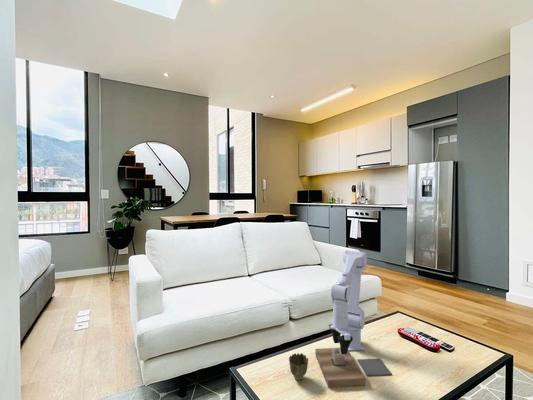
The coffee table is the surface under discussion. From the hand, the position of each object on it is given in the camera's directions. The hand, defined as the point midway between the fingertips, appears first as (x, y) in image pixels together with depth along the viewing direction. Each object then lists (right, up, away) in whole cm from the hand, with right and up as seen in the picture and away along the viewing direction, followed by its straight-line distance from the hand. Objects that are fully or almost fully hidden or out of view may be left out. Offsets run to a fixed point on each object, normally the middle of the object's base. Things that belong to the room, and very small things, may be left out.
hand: (340, 347), depth 114 cm
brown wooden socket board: (-1, -9, +1) cm, 9 cm away
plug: (-1, -9, +1) cm, 10 cm away
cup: (-17, -10, -4) cm, 20 cm away
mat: (+14, -9, +2) cm, 17 cm away
